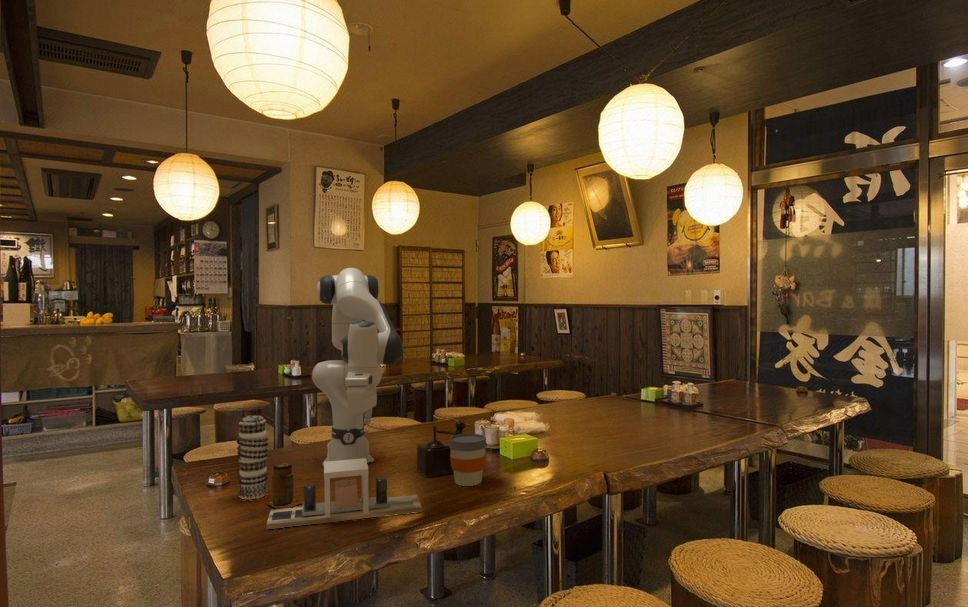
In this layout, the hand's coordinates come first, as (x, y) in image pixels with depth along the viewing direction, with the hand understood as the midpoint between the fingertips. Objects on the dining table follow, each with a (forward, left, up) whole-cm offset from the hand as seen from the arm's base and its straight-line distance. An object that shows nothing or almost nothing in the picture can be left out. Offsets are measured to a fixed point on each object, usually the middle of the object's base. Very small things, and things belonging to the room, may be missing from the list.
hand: (363, 426), depth 158 cm
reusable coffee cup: (-18, +35, -26) cm, 47 cm away
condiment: (-15, -23, -26) cm, 38 cm away
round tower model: (-26, -33, -26) cm, 49 cm away
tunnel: (-2, -5, -24) cm, 25 cm away
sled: (-2, -5, -24) cm, 24 cm away
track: (-2, -5, -25) cm, 26 cm away
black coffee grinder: (-33, +29, -26) cm, 51 cm away
